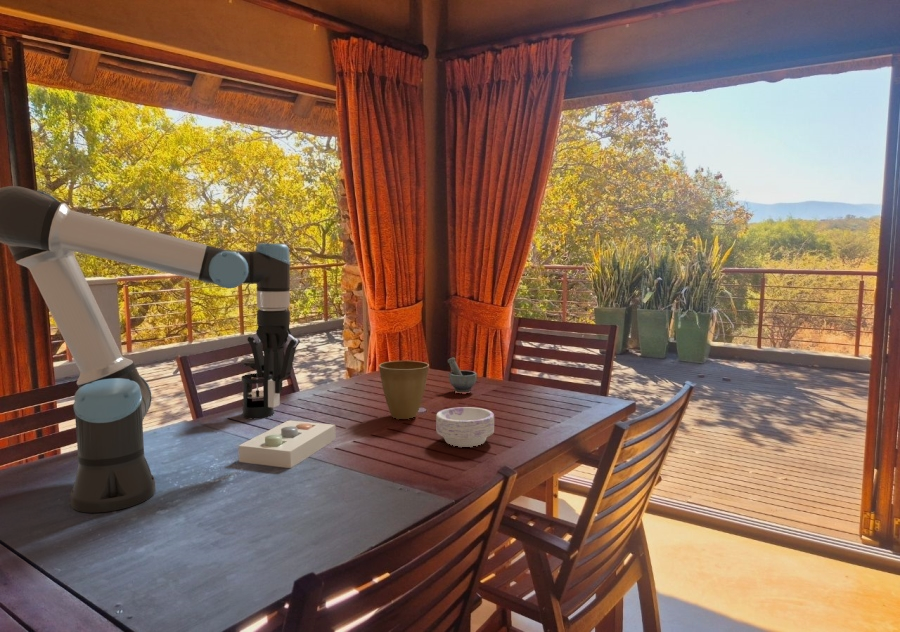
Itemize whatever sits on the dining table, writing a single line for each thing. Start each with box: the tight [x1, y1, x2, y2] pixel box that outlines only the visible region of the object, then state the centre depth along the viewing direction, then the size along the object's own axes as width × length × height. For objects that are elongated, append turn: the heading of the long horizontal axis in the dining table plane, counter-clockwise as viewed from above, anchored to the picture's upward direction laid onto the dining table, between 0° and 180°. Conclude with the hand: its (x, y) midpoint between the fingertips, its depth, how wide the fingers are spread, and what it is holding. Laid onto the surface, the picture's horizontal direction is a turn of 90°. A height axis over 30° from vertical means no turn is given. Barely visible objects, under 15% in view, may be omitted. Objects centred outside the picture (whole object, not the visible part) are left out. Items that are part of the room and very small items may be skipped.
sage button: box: [265, 435, 282, 447], centre depth 145 cm, size 4×4×4 cm
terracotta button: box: [296, 423, 312, 430], centre depth 158 cm, size 4×4×4 cm
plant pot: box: [378, 360, 430, 420], centre depth 181 cm, size 15×15×16 cm
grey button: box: [281, 426, 298, 438], centre depth 151 cm, size 4×4×4 cm
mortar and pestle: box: [447, 357, 478, 392], centre depth 213 cm, size 11×9×12 cm
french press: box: [240, 341, 275, 420], centre depth 183 cm, size 12×9×23 cm
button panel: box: [238, 419, 337, 469], centre depth 152 cm, size 22×14×4 cm, turn 163°
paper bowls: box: [435, 406, 495, 448], centre depth 158 cm, size 15×15×8 cm
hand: (273, 405), depth 146 cm, fingers closed
